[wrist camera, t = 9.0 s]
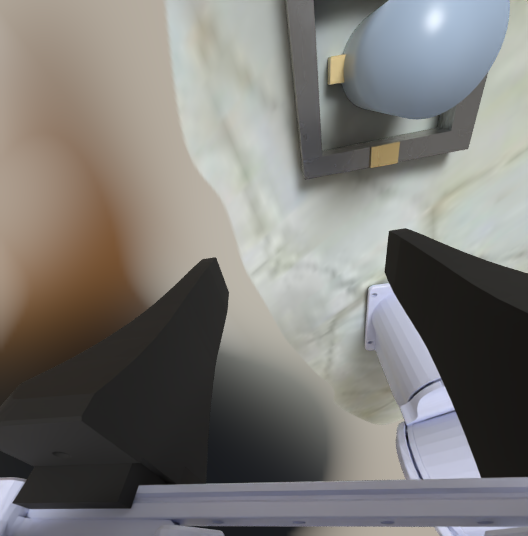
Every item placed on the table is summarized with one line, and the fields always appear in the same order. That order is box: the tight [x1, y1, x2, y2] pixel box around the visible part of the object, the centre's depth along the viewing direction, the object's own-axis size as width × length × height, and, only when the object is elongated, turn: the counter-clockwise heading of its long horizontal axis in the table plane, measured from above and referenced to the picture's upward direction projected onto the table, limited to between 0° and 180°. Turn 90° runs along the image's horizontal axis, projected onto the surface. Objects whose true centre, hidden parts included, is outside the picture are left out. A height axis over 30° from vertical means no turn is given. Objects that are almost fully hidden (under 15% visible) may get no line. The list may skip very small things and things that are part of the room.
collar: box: [285, 0, 488, 179], centre depth 13 cm, size 10×10×2 cm
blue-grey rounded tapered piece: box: [328, 0, 510, 119], centre depth 11 cm, size 6×4×6 cm
